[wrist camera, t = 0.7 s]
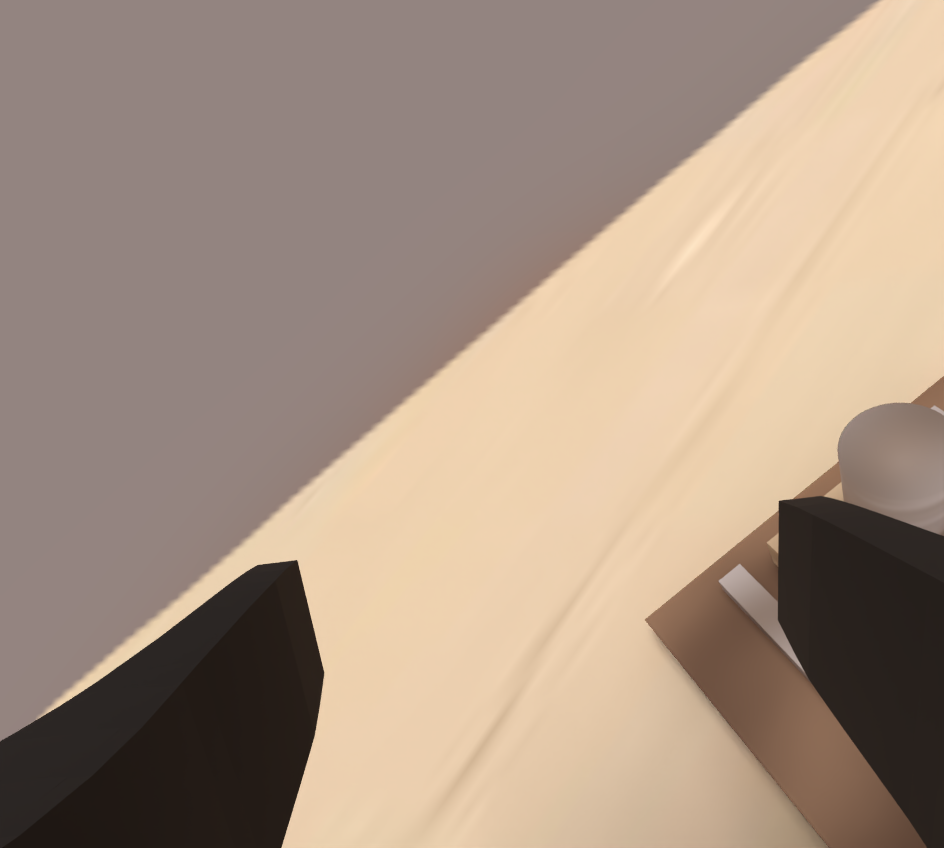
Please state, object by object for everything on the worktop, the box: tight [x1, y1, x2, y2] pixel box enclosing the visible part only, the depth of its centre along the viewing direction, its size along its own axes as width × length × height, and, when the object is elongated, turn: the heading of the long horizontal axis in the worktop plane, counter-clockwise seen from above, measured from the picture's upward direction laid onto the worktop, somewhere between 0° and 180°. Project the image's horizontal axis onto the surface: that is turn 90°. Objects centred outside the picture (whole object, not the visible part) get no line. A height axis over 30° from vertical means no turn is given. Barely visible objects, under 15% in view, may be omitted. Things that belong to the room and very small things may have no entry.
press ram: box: [767, 403, 944, 566], centre depth 21 cm, size 5×6×8 cm
